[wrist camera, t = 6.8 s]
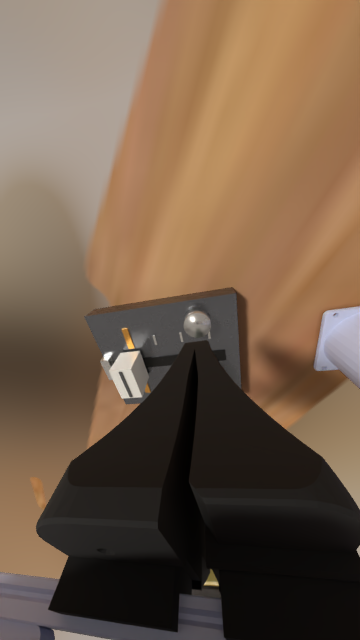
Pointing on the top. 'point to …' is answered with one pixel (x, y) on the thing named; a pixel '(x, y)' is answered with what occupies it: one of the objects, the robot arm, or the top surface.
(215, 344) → the console
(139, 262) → the top surface
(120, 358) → the fader cap
